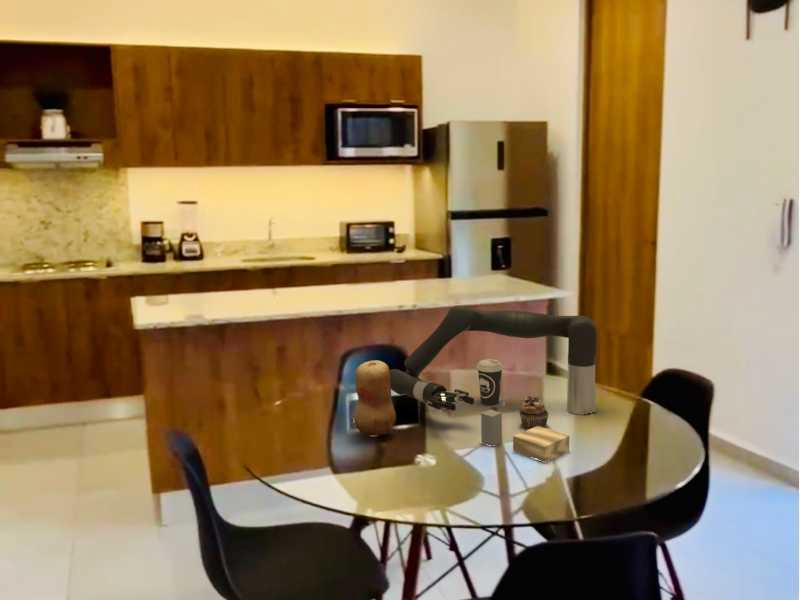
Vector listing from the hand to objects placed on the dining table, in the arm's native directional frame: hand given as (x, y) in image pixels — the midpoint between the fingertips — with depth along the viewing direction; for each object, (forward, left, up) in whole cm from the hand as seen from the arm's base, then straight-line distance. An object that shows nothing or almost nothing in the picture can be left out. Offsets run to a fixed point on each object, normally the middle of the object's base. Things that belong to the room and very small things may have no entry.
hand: (464, 404), depth 249 cm
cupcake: (-24, -4, -10) cm, 26 cm away
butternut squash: (+29, -1, -10) cm, 31 cm away
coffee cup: (-13, -29, -10) cm, 33 cm away
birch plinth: (-22, +17, -10) cm, 29 cm away
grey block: (-8, +9, -10) cm, 15 cm away
